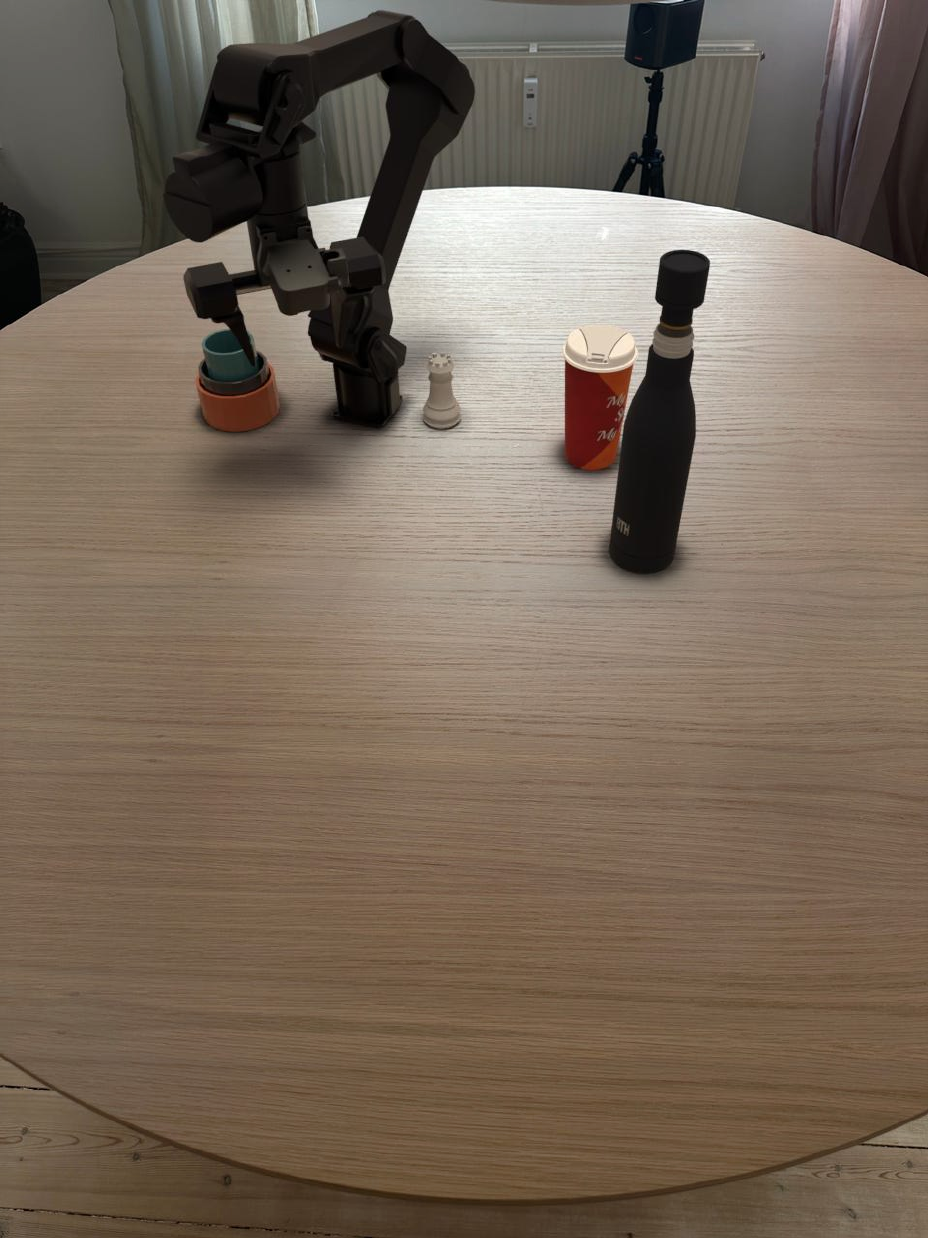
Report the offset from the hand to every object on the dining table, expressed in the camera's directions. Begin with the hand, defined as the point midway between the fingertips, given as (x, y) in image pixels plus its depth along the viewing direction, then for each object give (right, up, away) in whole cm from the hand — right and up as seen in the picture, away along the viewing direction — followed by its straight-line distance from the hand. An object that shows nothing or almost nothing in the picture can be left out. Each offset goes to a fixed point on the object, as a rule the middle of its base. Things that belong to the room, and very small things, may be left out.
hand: (296, 355), depth 101 cm
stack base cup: (-9, -3, +14) cm, 17 cm away
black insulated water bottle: (+35, -21, -4) cm, 41 cm away
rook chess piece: (+15, -4, +13) cm, 20 cm away
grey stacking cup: (-9, -3, +14) cm, 17 cm away
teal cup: (-9, -2, +13) cm, 16 cm away
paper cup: (+31, -9, +7) cm, 33 cm away
